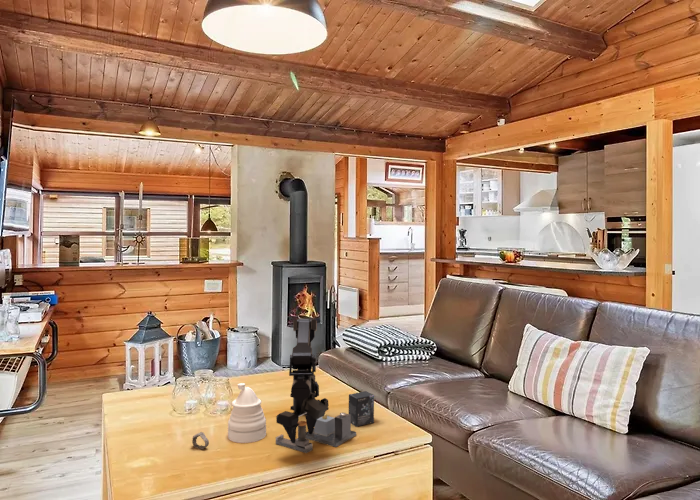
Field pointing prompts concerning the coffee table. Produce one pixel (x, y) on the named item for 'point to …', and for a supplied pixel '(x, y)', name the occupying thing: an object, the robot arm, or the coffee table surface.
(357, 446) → the coffee table surface
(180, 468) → the coffee table surface
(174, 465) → the coffee table surface
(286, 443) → the lever rail
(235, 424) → the honey pot
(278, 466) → the coffee table surface
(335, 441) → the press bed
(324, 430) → the block
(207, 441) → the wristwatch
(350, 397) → the box
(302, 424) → the lever
